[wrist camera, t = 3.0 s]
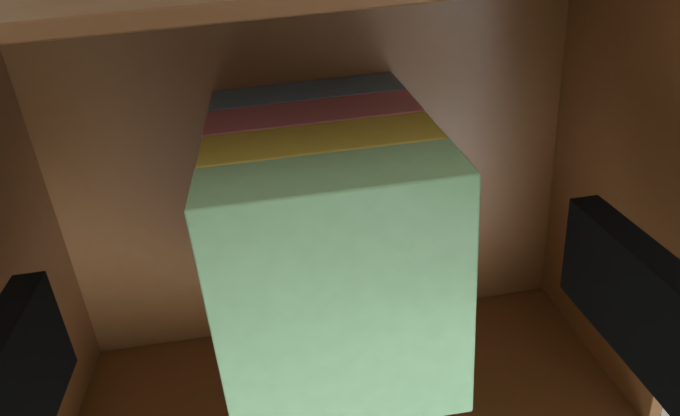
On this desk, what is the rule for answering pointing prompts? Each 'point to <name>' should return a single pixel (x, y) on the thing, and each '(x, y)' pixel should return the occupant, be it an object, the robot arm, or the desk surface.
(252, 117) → the sticky pads
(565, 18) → the carton
